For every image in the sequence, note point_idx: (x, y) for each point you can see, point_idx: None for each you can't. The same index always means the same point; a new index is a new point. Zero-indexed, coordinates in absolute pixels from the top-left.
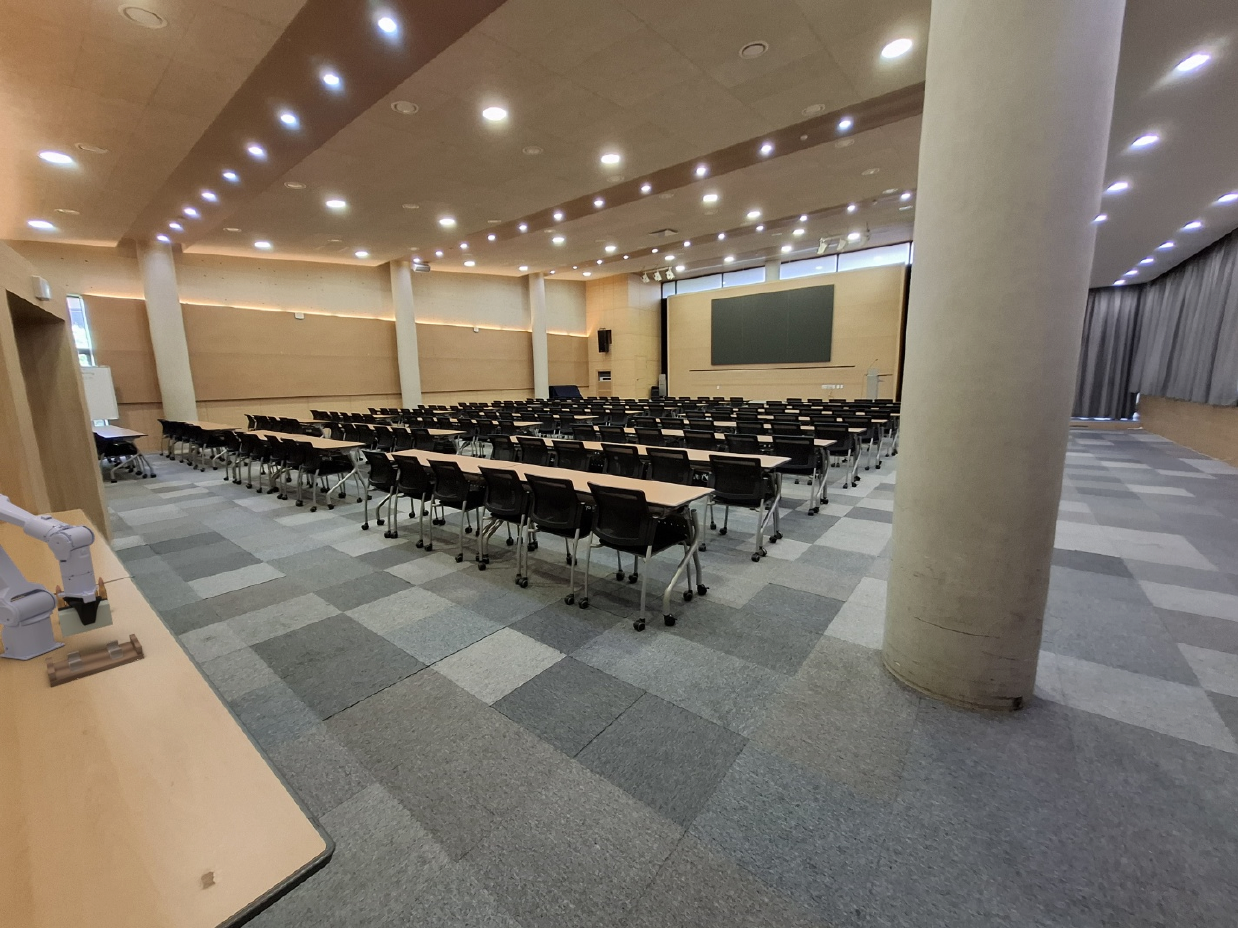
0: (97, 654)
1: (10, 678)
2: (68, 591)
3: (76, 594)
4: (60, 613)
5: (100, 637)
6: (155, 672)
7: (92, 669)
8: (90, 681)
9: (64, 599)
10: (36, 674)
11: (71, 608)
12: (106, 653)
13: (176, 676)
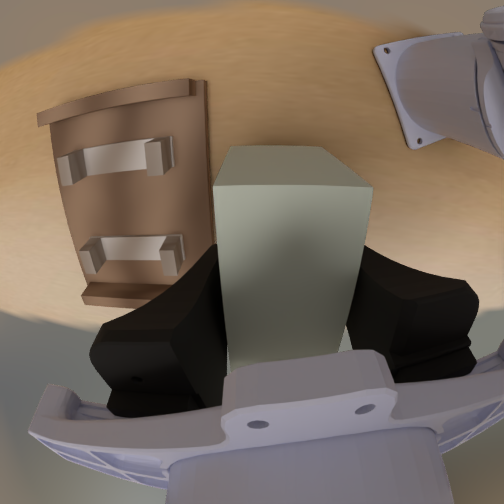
0: (170, 209)
1: (230, 2)
2: (209, 483)
3: (89, 448)
4: (285, 197)
5: (381, 227)
6: (22, 281)
7: (61, 195)
8: (35, 186)
9: (413, 304)
10: (192, 56)
11: (354, 267)
12: (156, 229)
13: (2, 295)
